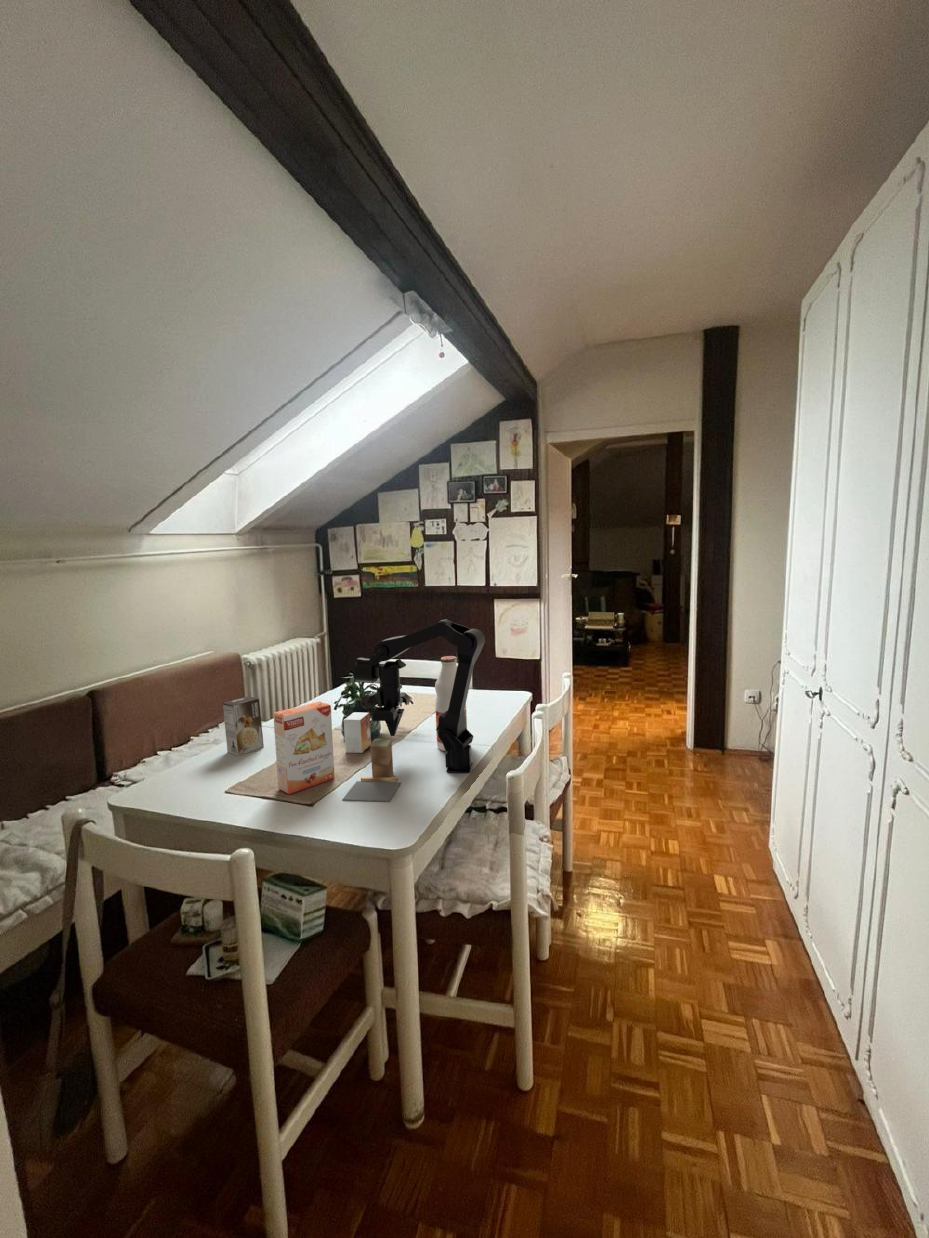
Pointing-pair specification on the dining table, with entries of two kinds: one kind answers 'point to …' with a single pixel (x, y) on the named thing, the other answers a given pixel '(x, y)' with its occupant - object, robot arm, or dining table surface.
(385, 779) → the kerb
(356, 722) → the small box
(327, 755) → the cracker box
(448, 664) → the fruit juice
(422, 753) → the dining table surface
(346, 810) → the dining table surface
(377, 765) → the walnut block
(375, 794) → the mat
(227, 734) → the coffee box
